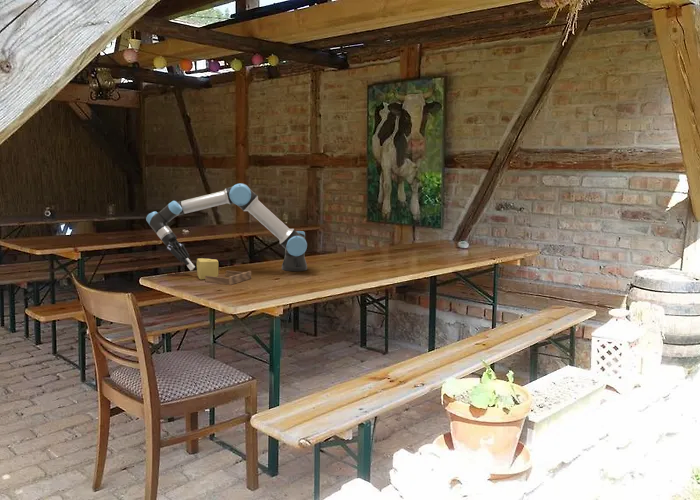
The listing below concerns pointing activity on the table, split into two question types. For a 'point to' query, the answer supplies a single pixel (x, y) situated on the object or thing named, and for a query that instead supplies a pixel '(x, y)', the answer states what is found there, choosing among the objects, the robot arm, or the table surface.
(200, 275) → the cheese
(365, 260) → the table surface
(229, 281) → the brown wooden u frame
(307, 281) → the table surface
